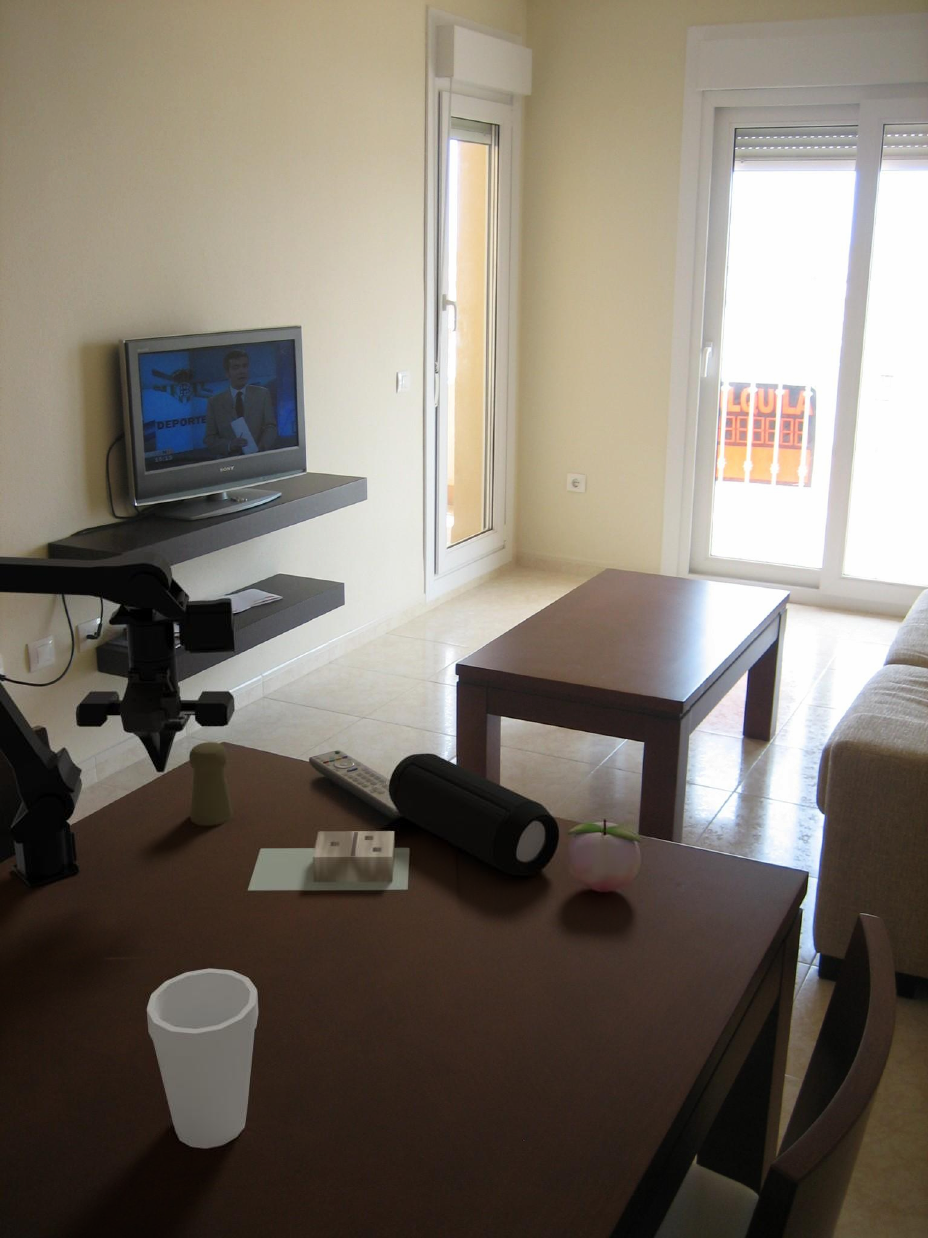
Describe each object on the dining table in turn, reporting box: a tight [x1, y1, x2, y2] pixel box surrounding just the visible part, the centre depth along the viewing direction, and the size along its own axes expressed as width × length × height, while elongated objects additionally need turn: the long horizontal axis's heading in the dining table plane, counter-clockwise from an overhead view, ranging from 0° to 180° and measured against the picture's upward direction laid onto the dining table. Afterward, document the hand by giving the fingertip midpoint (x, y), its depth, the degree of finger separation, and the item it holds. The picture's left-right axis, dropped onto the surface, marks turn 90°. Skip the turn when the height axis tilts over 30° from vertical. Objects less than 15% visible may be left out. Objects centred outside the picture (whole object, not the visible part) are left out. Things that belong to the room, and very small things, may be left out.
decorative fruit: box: [566, 818, 644, 893], centre depth 143 cm, size 9×8×10 cm
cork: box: [188, 741, 234, 827], centre depth 162 cm, size 6×6×11 cm
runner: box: [247, 847, 411, 892], centre depth 149 cm, size 20×11×1 cm, turn 91°
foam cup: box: [146, 968, 259, 1149], centre depth 103 cm, size 10×9×13 cm
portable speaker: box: [388, 753, 560, 876], centre depth 155 cm, size 26×10×10 cm, turn 41°
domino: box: [313, 830, 395, 882], centre depth 149 cm, size 4×7×10 cm
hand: (161, 771), depth 147 cm, fingers closed
